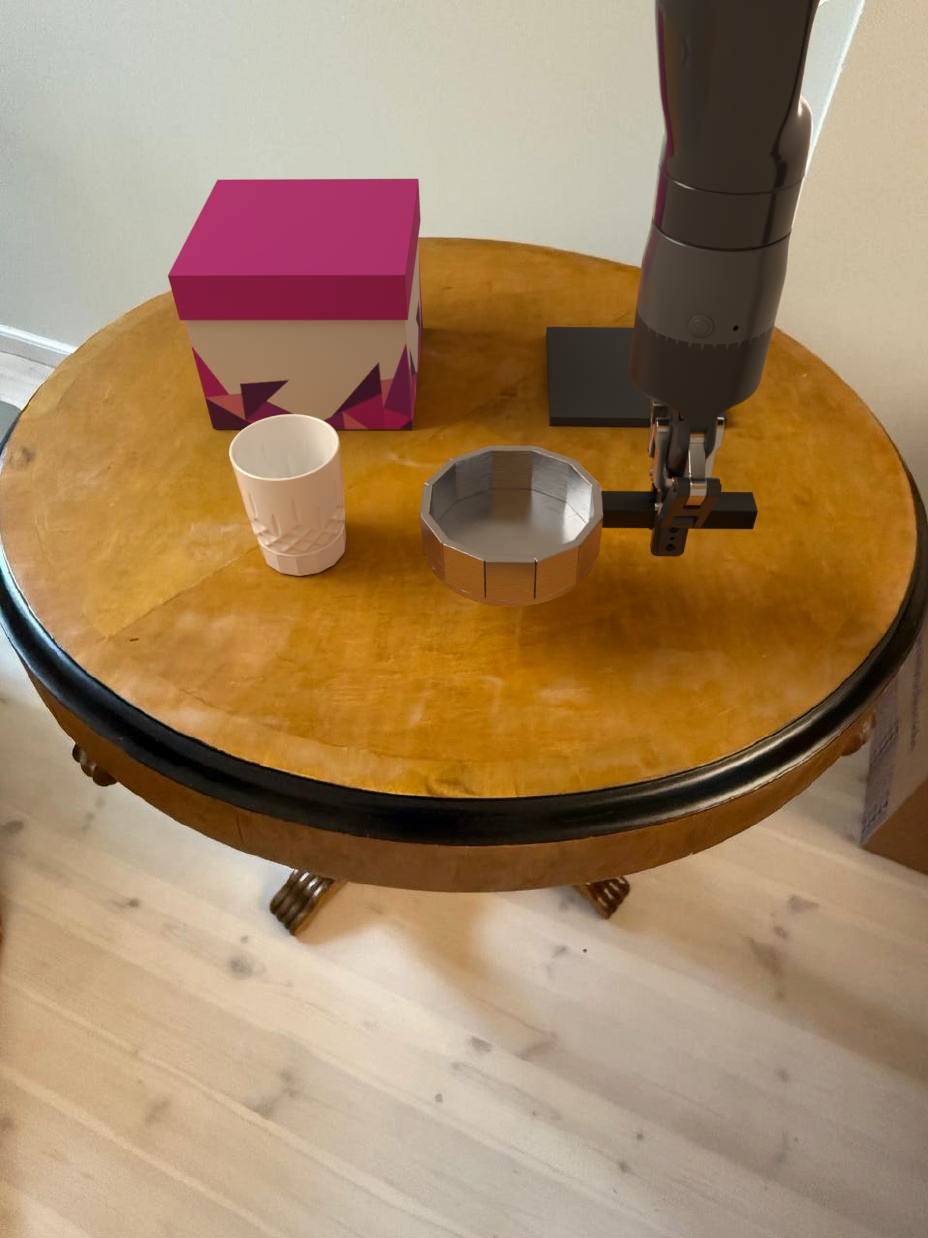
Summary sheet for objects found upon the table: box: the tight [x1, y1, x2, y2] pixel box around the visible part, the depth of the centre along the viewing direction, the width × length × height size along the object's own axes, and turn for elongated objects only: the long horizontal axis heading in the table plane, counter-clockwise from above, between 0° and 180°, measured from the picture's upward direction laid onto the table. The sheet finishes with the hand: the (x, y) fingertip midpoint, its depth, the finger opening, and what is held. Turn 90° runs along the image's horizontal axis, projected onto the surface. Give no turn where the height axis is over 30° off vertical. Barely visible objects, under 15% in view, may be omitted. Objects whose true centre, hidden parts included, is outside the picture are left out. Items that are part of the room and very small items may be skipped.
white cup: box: [228, 414, 347, 577], centre depth 68 cm, size 8×8×10 cm
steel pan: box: [419, 445, 759, 608], centre depth 61 cm, size 22×12×4 cm, turn 87°
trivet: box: [545, 326, 728, 429], centre depth 87 cm, size 16×16×1 cm
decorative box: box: [167, 178, 424, 430], centre depth 83 cm, size 19×19×15 cm
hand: (664, 538), depth 62 cm, fingers closed on steel pan, 2 cm apart
